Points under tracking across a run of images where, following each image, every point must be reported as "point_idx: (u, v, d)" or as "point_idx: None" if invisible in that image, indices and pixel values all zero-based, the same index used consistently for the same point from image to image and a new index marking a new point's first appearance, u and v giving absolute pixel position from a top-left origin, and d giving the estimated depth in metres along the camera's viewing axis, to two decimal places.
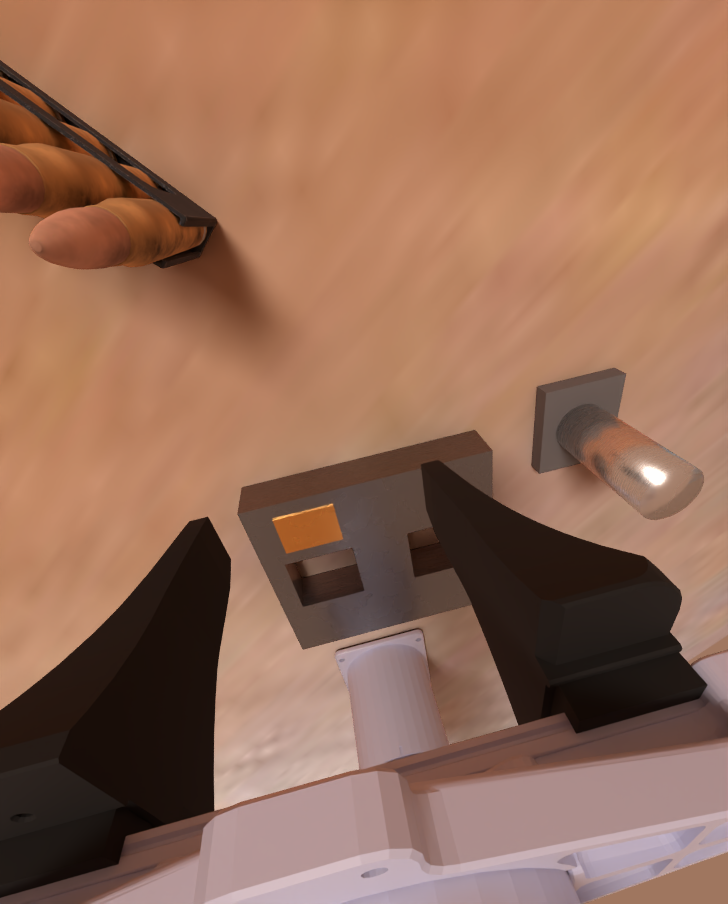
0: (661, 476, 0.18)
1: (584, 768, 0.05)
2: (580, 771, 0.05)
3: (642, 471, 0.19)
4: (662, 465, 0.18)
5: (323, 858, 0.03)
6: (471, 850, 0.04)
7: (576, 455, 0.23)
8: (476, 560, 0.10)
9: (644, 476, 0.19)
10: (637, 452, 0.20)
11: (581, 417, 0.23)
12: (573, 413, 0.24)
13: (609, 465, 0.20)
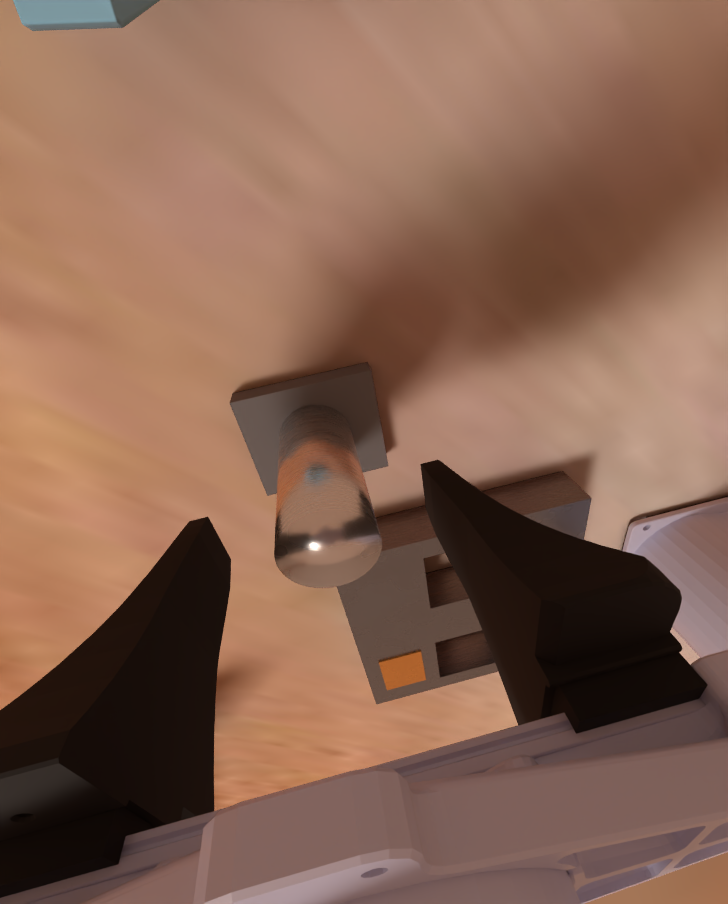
0: (292, 580, 0.12)
1: (584, 768, 0.05)
2: (580, 771, 0.05)
3: None
4: None
5: (323, 859, 0.03)
6: (471, 850, 0.04)
7: None
8: (476, 560, 0.10)
9: None
10: None
11: None
12: None
13: None
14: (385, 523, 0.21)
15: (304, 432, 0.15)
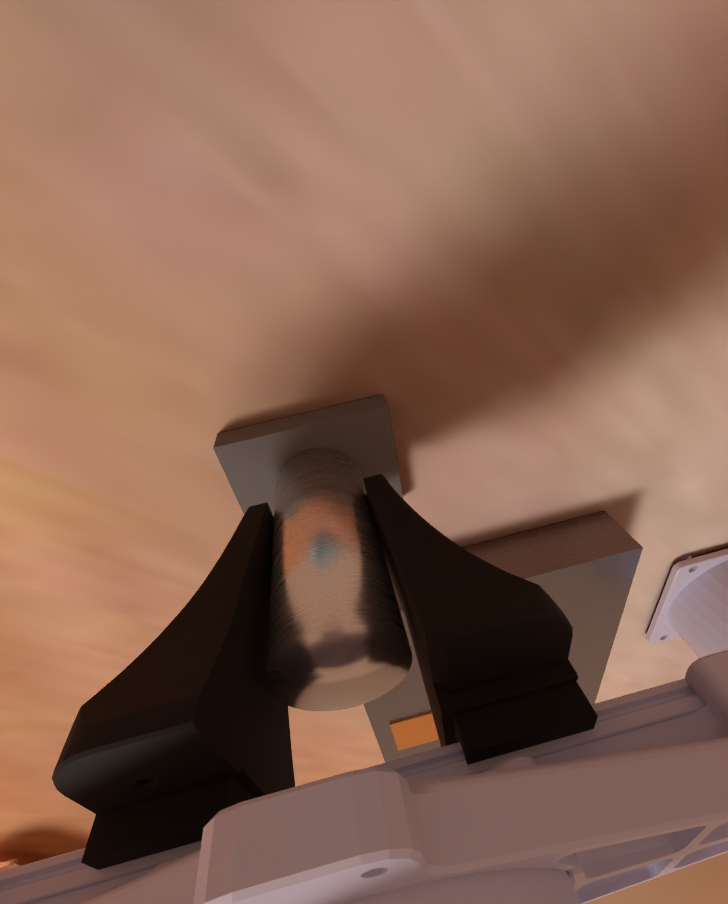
0: (292, 706, 0.09)
1: (584, 768, 0.05)
2: (579, 770, 0.05)
3: None
4: None
5: (323, 858, 0.03)
6: (471, 850, 0.04)
7: None
8: (399, 580, 0.09)
9: None
10: None
11: None
12: None
13: None
14: None
15: (306, 489, 0.12)
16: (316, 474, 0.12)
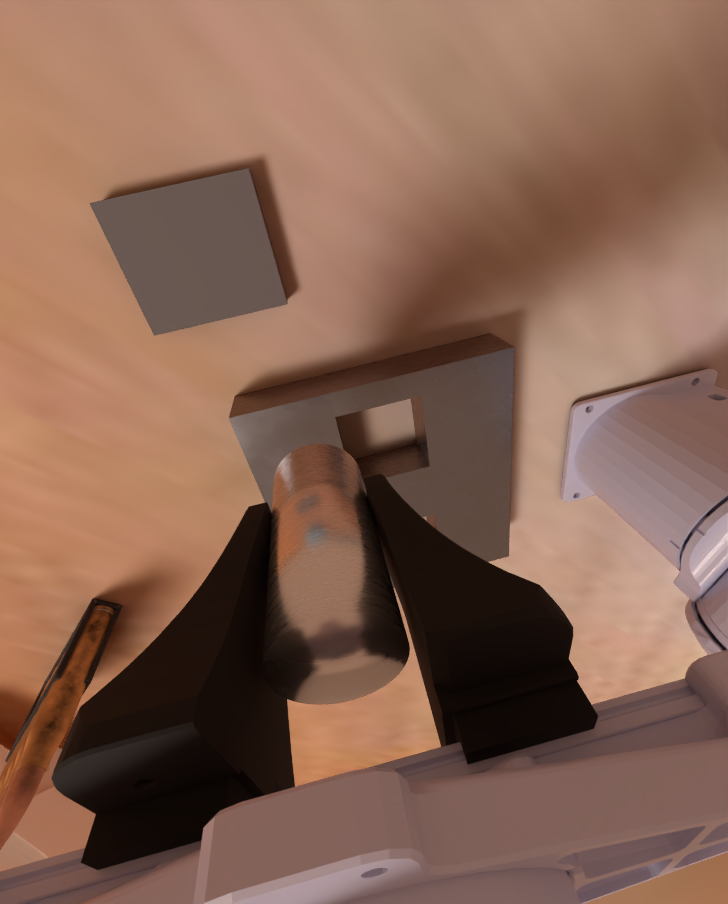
0: (289, 699, 0.09)
1: (584, 768, 0.05)
2: (580, 770, 0.05)
3: None
4: None
5: (323, 858, 0.03)
6: (471, 850, 0.04)
7: None
8: (400, 580, 0.09)
9: None
10: None
11: None
12: None
13: None
14: (297, 385, 0.20)
15: (302, 484, 0.12)
16: (313, 469, 0.12)
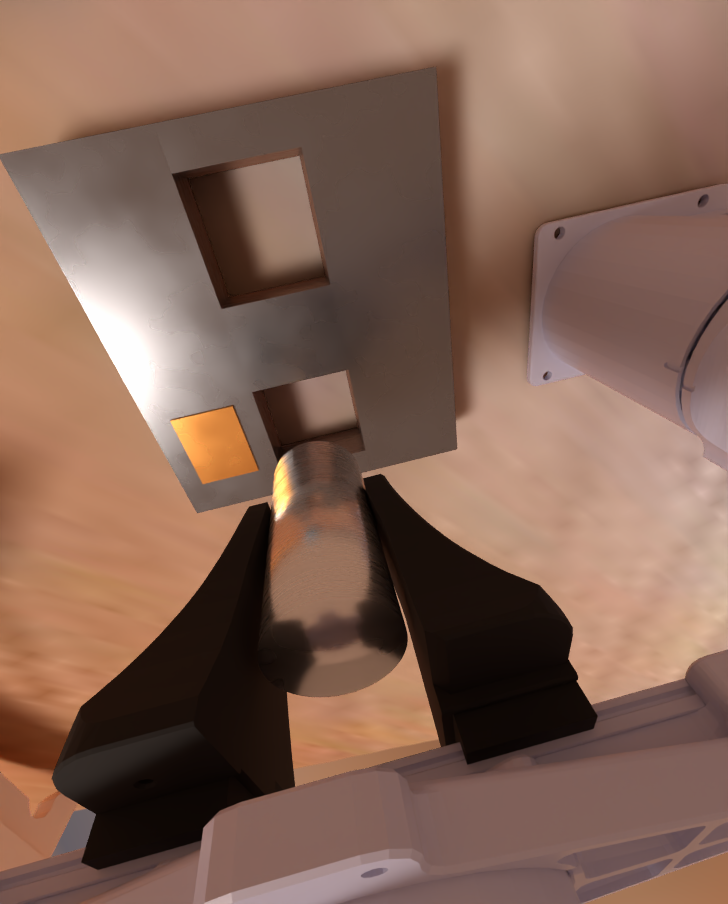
0: (288, 691, 0.09)
1: (584, 768, 0.05)
2: (580, 770, 0.05)
3: None
4: None
5: (323, 858, 0.03)
6: (471, 850, 0.04)
7: None
8: (399, 580, 0.09)
9: None
10: None
11: None
12: None
13: None
14: None
15: (299, 479, 0.12)
16: (310, 464, 0.12)
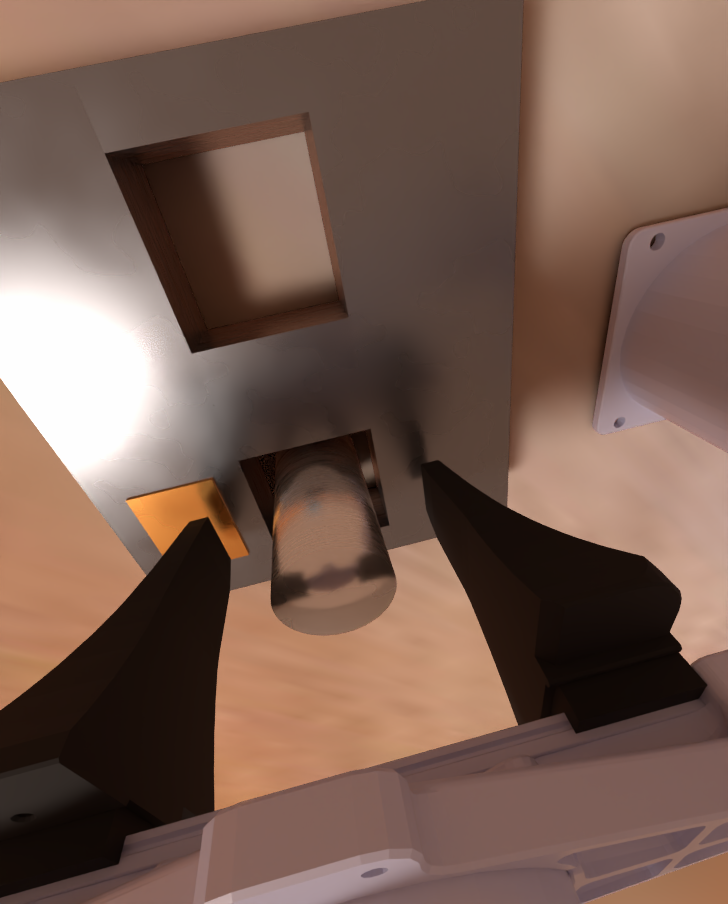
0: None
1: (584, 768, 0.05)
2: (580, 770, 0.05)
3: None
4: None
5: (323, 858, 0.03)
6: (471, 850, 0.04)
7: None
8: (476, 560, 0.10)
9: None
10: None
11: None
12: None
13: None
14: None
15: (300, 453, 0.13)
16: None
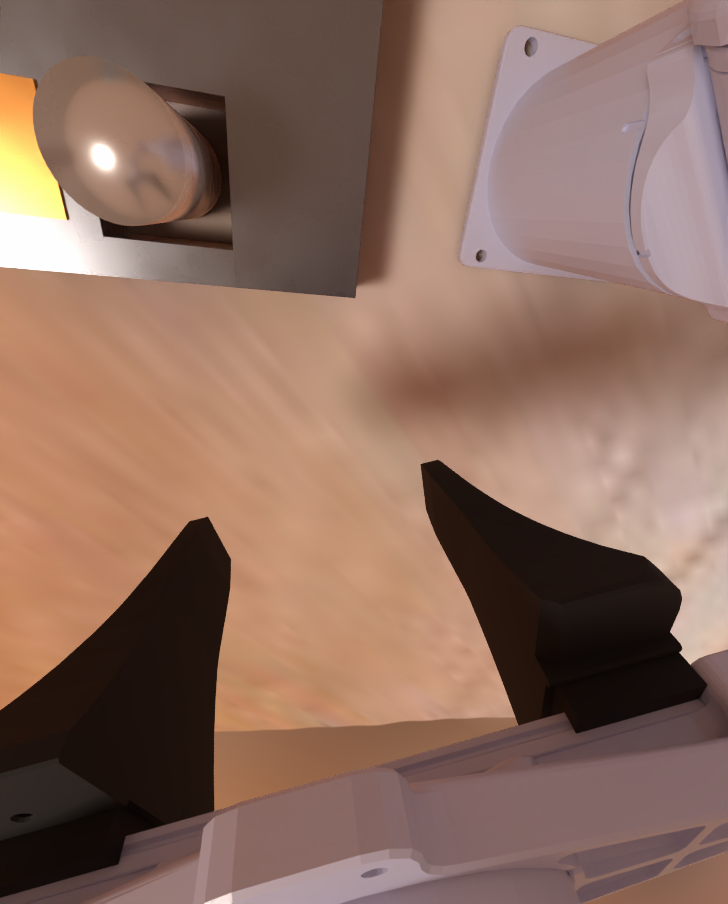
0: (63, 188, 0.10)
1: (584, 768, 0.05)
2: (580, 770, 0.05)
3: None
4: None
5: (323, 858, 0.03)
6: (471, 850, 0.04)
7: (188, 218, 0.14)
8: (476, 560, 0.10)
9: None
10: None
11: None
12: None
13: None
14: None
15: None
16: None
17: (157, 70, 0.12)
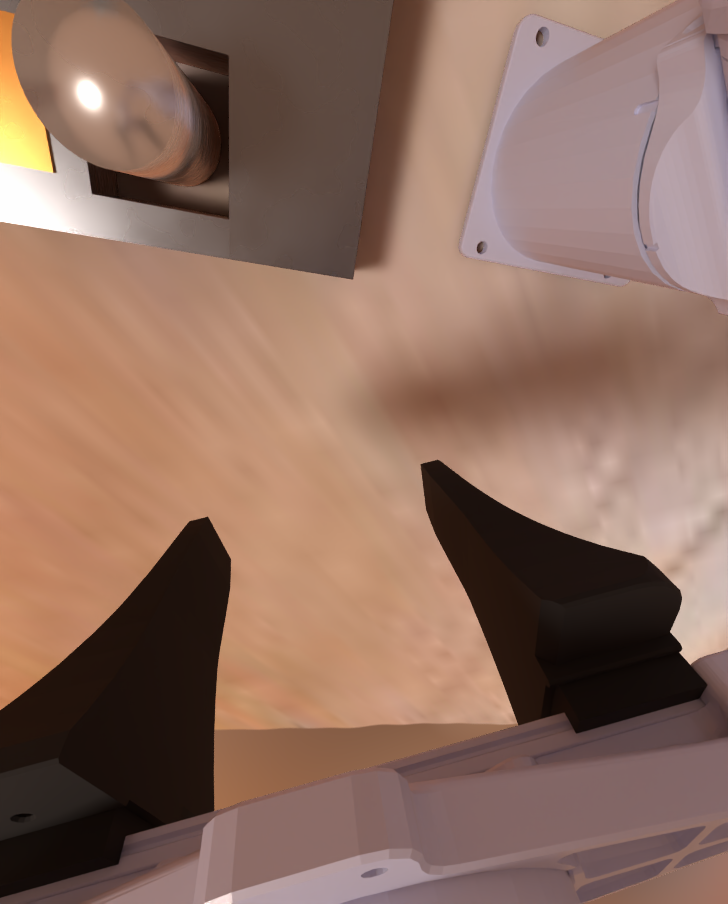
0: (42, 122, 0.09)
1: (584, 768, 0.05)
2: (580, 770, 0.05)
3: None
4: None
5: (323, 858, 0.03)
6: (471, 850, 0.04)
7: (182, 182, 0.14)
8: (476, 560, 0.10)
9: None
10: None
11: None
12: None
13: None
14: None
15: None
16: None
17: (159, 20, 0.11)
